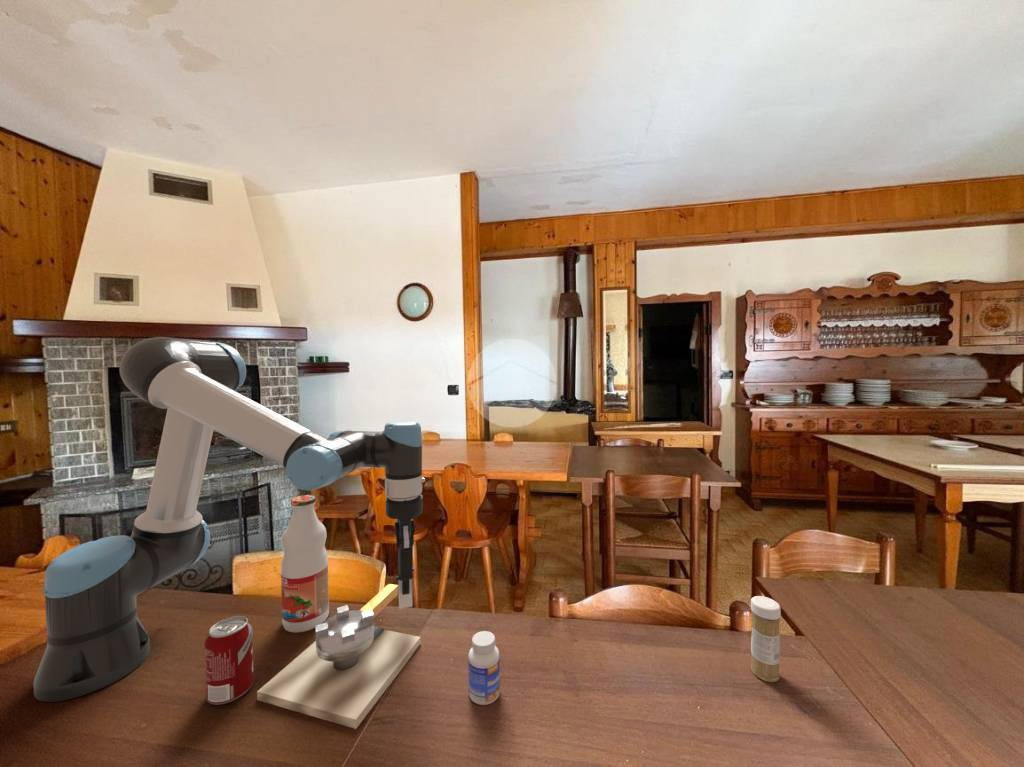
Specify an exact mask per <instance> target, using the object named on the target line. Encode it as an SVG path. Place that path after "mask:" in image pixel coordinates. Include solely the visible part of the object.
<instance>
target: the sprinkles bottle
mask: <svg viewBox="0 0 1024 767" xmlns="http://www.w3.org/2000/svg"><path fill="white" fill-rule="evenodd" d="M781 609H782V608H781V606H780V604H779V602H778V601H775V600H774V599H772V598H770V597H767V596H762V595H756V596H753V597H752V598H751V599H750V610H751V636H750V642H751V643H750V652H751V663H750V669H751V671H752V673H753V674H754V676H756V677H757V678H758V679H760V680H762V681H765V682H768V683H776V682H778V681H779V680H780V661H781V660H780V658H781V655H780V652H781V651H780V647H781V646H780V645H781V640H780V639H781V633H780V619H781V615H782V614H781Z"/></svg>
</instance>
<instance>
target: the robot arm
mask: <svg viewBox="0 0 1024 767" xmlns="http://www.w3.org/2000/svg"><path fill="white" fill-rule="evenodd" d="M119 375H120V378H121V380H122V382H123V384H124V385H125V387H127V389H128V390H130V392H131V393H132V394H134V395H135V396H136V397H137V398H139V399H141V400H143V401H144V402H147V403H148V404H151V405H152V406H153V407H156V408H158V409H163V410H164V409H167V410H166V415H165V418H164V425H163V429H162V433H161V438H160V443H159V448H158V451H157V452H158V453H157V458H156V462H155V467H154V472H153V478H152V482H151V487H150V491H149V495H148V496H149V497H148V501H147V506H146V510H145V512H143V513H141V514H139V515H138V516H137V517H136V518H135V519H134V523H133V527H132V532H131V534H130V536H129V535H124V534H123V535H118V534H117V535H109V536H105V537H101V538H98V539H96V540H90V541H88V542H87V541H86V542H84V543H81V544H79V545H77V546H74V547H72V548H69V549H68V550H66V551H64V552H62V553H61V554H59V555H57V556H56V557H55V558H53V560H52V561H51V562H50V563H49V564H48V566H47V568H46V570H45V572H44V584H43V587H42V593H43V594H44V601H45V602H44V603H45V607H44V608H45V625H46V644H47V645H46V648H45V650H44V653H43V656H42V657H41V658H42V659H41V661H40V664H39V666H38V668H37V671H36V673H35V676H34V678H33V683H32V685H33V696H34V699H36V700H37V701H39V702H43V703H44V702H46V703H53V702H54V703H56V702H64V701H68V700H71V699H76V698H79V697H82V696H85V695H88V694H91V693H93V692H96V691H98V690H101V689H102V688H105V687H107V686H109V685H111V684H114V683H115V682H117V681H119V680H120V679H123V678H124V677H126V676H127V675H129V674H130V673H132V672H133V671H135V670H136V669H137V668H139V666H140V665H142V664H143V663H144V662H145V661H146V659H147V658H148V657H149V655H150V653H151V639H150V636H149V635H148V632H147V631H146V629H145V627H144V625H143V623H142V622H141V620H140V619H139V616H138V612H137V611H138V610H137V607H138V606H137V597H138V595H141V594H143V593H144V592H145V591H148V590H150V589H151V588H152V589H153V587H155V586H158V585H159V584H161V583H163V582H165V581H166V580H168V579H170V578H172V577H174V576H176V575H177V574H180V573H183V572H184V571H185V570H187V569H189V568H190V567H191V566H193V565H194V564H195V563H197V562H198V561H199V560H201V559H202V558H203V556H204V555H205V554H206V552H207V550H208V548H209V546H210V542H211V533H210V529H207V527H208V524H207V522H206V521H205V520H204V519H203V515H202V514H201V513H200V512H199V510H197V507H198V503H199V498H200V494H201V489H202V484H203V480H204V475H205V471H206V466H207V461H208V456H209V451H210V448H211V443H212V438H213V434H214V431H215V432H217V433H218V434H220V435H222V436H224V437H225V438H227V439H230V440H232V441H234V442H235V443H238V444H239V445H241V446H243V447H245V448H247V449H249V450H251V451H253V452H254V453H257V454H258V455H260V456H262V457H264V458H266V459H268V460H270V461H272V462H273V463H275V464H277V465H279V466H281V467H283V468H285V470H286V476H287V478H288V479H289V480H290V482H291V483H292V485H293V486H294V487H296V488H297V489H299V490H303V491H307V492H308V491H315V490H317V489H321V488H323V487H327V486H330V485H332V484H333V483H334V482H336V481H337V480H340V479H341V478H342V477H345V476H346V475H349V474H350V473H352V472H354V471H357V470H358V469H360V468H380V469H381V468H384V495H385V496H386V498H385V515H386V517H387V518H389V519H392V520H396V521H394V533H395V541H396V547H397V557H398V558H397V566H398V570H397V572H398V575H395V581H398V583H397V585H398V610H402V609H406V608H412V607H413V579H414V574H413V572H415V566H413V562H414V559H413V558H414V557H413V555H414V554H413V553H414V552H413V548H414V544H415V543H414V539H415V532H416V524H415V522H414V521H415V520H414V519H413V518H414V517H415V518H416V517H419V516H420V515H421V514H422V513H423V508H424V506H423V504H424V502H423V501H424V500H423V498H424V497H423V494H422V492H423V483H425V482H426V478H424V477H423V444H424V443H423V438H422V427H421V424H420V423H418V422H417V421H412V420H402V421H401V420H399V421H397V420H396V421H389V422H387V423H386V424H384V429H383V431H382V430H381V431H364V430H363V431H361V430H360V431H358V430H355V431H354V430H349V429H348V430H343V431H340V430H339V431H333V432H331V433H330V434H329V436H328V437H327V438H325V437H323V436H322V435H319V434H317V433H315V432H313V431H311V430H310V429H308V428H306V427H304V426H302V425H300V424H298V423H296V422H295V421H293V420H290V419H289V418H287V417H284V416H283V415H281V414H280V413H277V412H275V411H274V410H271V409H270V408H268V407H266V406H264V405H262V404H260V403H259V402H257V401H254V400H252V399H251V398H248V397H247V396H245V395H243V394H241V393H239V392H238V391H237V390H238V389H239V388H241V387H243V384H244V382H245V381H246V377H247V366H246V363H245V360H244V359H243V357H242V356H241V355H240V353H239V351H238V350H237V349H235V348H234V347H233V346H231V345H229V344H227V343H224V342H223V343H222V342H219V341H215V340H208V339H194V338H193V339H192V338H177V337H176V338H175V337H170V336H169V337H168V336H156V337H150V338H146V339H143V340H140V341H138V342H136V343H135V344H133V345H131V346H130V347H128V349H127V350H126V351H125V352H124V354H123V355H122V357H121V360H120V362H119Z"/></svg>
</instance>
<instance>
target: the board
mask: <svg viewBox="0 0 1024 767" xmlns="http://www.w3.org/2000/svg"><path fill="white" fill-rule="evenodd" d="M421 642H422V641H421V636H417V635H412V634H408V633H404V632H403V633H402V632H397V631H394V630H388V629H385V627H379V626H376V625H374V639H373V641H372V643H371V645H370V646H369V647H368V648H367V649H366V650H365V651H363V652H362V653H360V654H359V655H357V656H355V657H352V658H350V659H347V660H343V661H335V662H332V661H325V660H323V659H321V658H319V657H318V655H317V653H316V640H315V641H313V643H312V644H310V645H309V646H308V647H307V648H305V649H304V650H303V651H302V652H301V653H299V654H298V655H297V657H295V658H293V660H291V661H290V662H289V663H288V664H287V665H286V666H285V667H284V668H282V669H281V670H280V671H279V672H278V673H276V674H275V675H274V676H273V677H272V678H271V679H269V681H268V682H266V683H265V684H264V685H262V686H261V688H259V689H258V690H257V691H256V697H257V701H259V702H263V703H266V704H270V705H273V706H277V707H280V708H282V709H287V710H290V711H293V712H297V713H300V714H304V715H307V716H311V717H314V718H317V719H321V720H323V721H328V722H331V723H335V724H337V725H341V726H343V727H348V728H351V729H354V730H356V729H357V728H358V727H359V726H360V725H361V723H362V722H363V721H364V719H365V718H366V717H367V715H368V714H369V713H370V711H371V710H372V709H373V708H374V706H375V705H376V703H377V702H378V701H379V700H380V699H381V697H382V696H383V694H384V693H385V691H386V690H387V689H388V688H389V686H390V685H391V684H392V683H393V681H394V680H395V679H396V677H397V676H398V674H399V673H400V672H401V671H402V669H403V668H404V666H406V664H407V663H408V661H409V660H410V658H411V657H412V656H413V655H414V653H415V652H416V651H417V650H418V648H419V647H420V646H421Z"/></svg>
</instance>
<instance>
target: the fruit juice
mask: <svg viewBox="0 0 1024 767" xmlns="http://www.w3.org/2000/svg"><path fill="white" fill-rule="evenodd" d="M316 501H317V500H316V495H312V494H305V495H298V496H296V497H293V498H291V499H290V508H291V509H292V512H291V517H290V520H289V523H288V525H287V527H286V528H285V529H284V530H283V532H282V534H281V538H280V544H281V549H282V552H283V556H282V557H281V562H280V580H281V582H280V583H281V585H280V586H281V619H282V620H281V622H282V626H283V628H284V631H287V632H290V633H304V632H308V631H311V630H313V629H315V626H316V625H319V624H322V623H323V622H324V621H325V620H327V619H328V618H329V617H328V616H329V612H330V599H329V598H330V595H329V594H330V593H329V592H330V590H329V589H330V588H329V556H328V551H327V548H326V546H325V544H326V540H327V537H328V536H327V528H326V526H325V525H324V524H323V523H322V521H320V519H319V518H318V515H317V512H316V510H315V505H316Z"/></svg>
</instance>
